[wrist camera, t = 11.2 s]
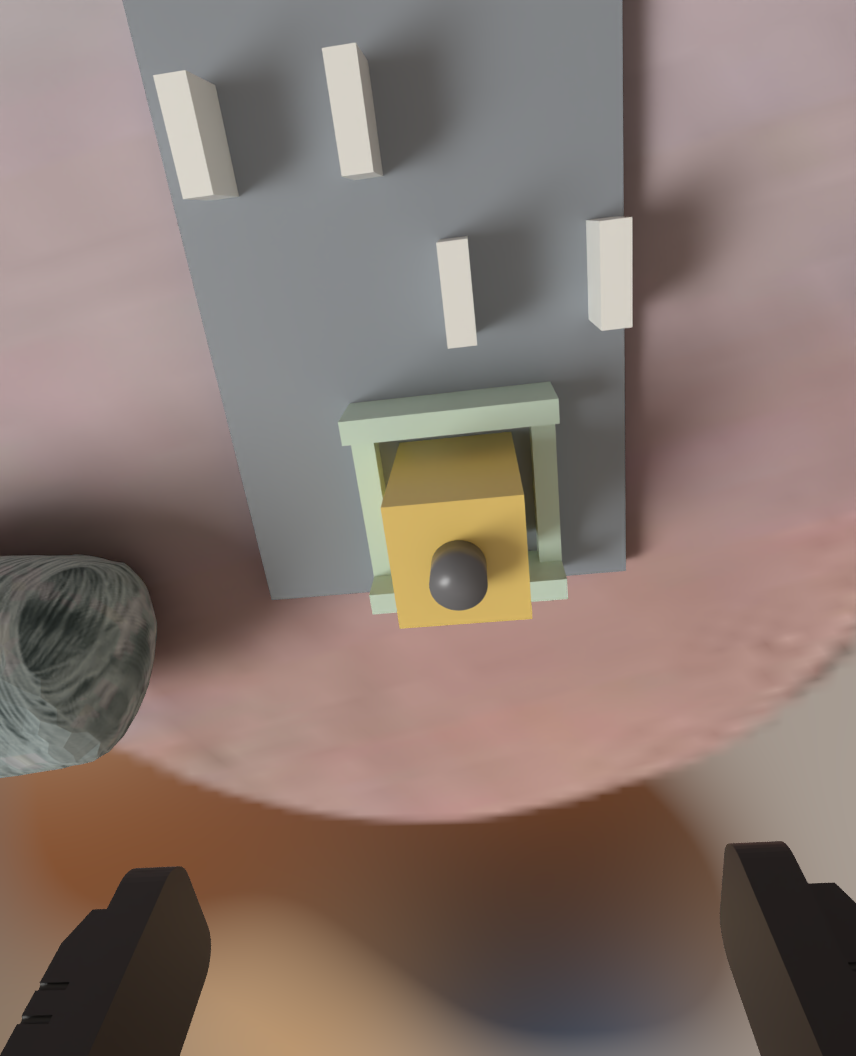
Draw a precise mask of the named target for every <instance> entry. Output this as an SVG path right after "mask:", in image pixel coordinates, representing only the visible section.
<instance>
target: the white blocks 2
mask: <svg viewBox="0 0 856 1056" xmlns="http://www.w3.org/2000/svg"><path fill="white" fill-rule="evenodd" d="M586 240H587V278H588V315H589V320H590V321H591V322H592V323H593V324H594V325H595V326H597V327H598V328H599V329H600V330H601V331H605V330H614V329H622V328H631V327H633V326H632V217H619V216H615V217H607V218H600V219H592V220H586ZM436 247H437V256H438V265H439V274H440V283H441V292H442V301H443V310H444V320H445V329H446V338H447V347H448V349H450V348H459V347H467V346H476V345H477V336H476V324H475V313H474V303H473V292H472V281H471V270H470V259H469V248H468V237H467V236H463V237H456V238H448V239H440V240H438V241H437V242H436Z"/></svg>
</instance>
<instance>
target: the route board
mask: <svg viewBox="0 0 856 1056" xmlns="http://www.w3.org/2000/svg"><path fill="white" fill-rule="evenodd" d="M122 1H123V5H124V9H125V13H126V17H127V21H128V25H129V29H130V33H131V37H132V41H133V45H134V49H135V53H136V57H137V61H138V65H139V69H140V73H141V77H142V81H143V85H144V89H145V93H146V97H147V101H148V105H149V109H150V113H151V117H152V121H153V125H154V129H155V133H156V137H157V141H158V145H159V149H160V153H161V157H162V161H163V165H164V169H165V173H166V177H167V181H168V186H169V190H170V194H171V198H172V202H173V206H174V210H175V214H176V218H177V222H178V226H179V230H180V234H181V238H182V242H183V246H184V250H185V254H186V258H187V262H188V266H189V270H190V274H191V278H192V282H193V286H194V290H195V294H196V298H197V302H198V306H199V310H200V314H201V318H202V322H203V326H204V330H205V334H206V338H207V342H208V346H209V350H210V354H211V358H212V362H213V366H214V370H215V374H216V378H217V382H218V386H219V390H220V394H221V398H222V402H223V406H224V410H225V414H226V418H227V422H228V426H229V430H230V434H231V438H232V442H233V447H234V451H235V455H236V459H237V463H238V467H239V471H240V475H241V479H242V483H243V487H244V491H245V495H246V499H247V503H248V507H249V511H250V515H251V519H252V523H253V527H254V531H255V535H256V539H257V543H258V547H259V551H260V555H261V559H262V563H263V567H264V571H265V575H266V579H267V583H268V587H269V591H270V595H271V599H272V600H279V599H291V598H303V597H315V596H327V595H339V594H351V593H364V592H370V590H371V586H372V582H373V579H374V574H373V568H372V562H371V557H370V551H369V545H368V540H367V534H366V528H365V523H364V517H363V511H362V506H361V500H360V494H359V489H358V483H357V477H356V472H355V466H354V460H353V455H352V449H351V445H349V446H342V443H341V437H340V432H339V426H338V421H339V420H340V418H341V416H342V415H343V413H344V411H345V410H346V408H347V407H348V405H349V403H358V402H367V401H376V400H385V399H395V398H404V397H413V396H422V395H431V394H440V393H449V392H458V391H467V390H476V389H485V388H494V387H504V386H513V385H522V384H531V383H540V382H549V381H550V382H551V384H552V386H553V388H554V390H555V392H556V394H557V396H558V398H559V418H560V424H555V430H556V451H557V471H558V492H559V512H560V533H561V553H562V563H563V567H564V570H565V574H566V576H569V575H581V574H593V573H605V572H617V571H626V520H625V356H624V328H622V329H614V330H605V331H601V330H600V329H599V328H598V327H597V326H595V325H594V324H593V323H592V322H591V321H590V320H589V315H588V278H587V240H586V220H592V219H600V218H607V217H615V216H619V217H624V193H623V29H622V0H122ZM349 43H356V44H357V45H358V47H359V48H360V50H361V51H362V53H363V54H364V56H365V57H366V59H367V61H368V66H369V74H370V81H371V89H372V96H373V104H374V111H375V119H376V126H377V134H378V141H379V149H380V156H381V164H382V171H383V176H381V177H374V178H367V179H360V180H352V179H349V178H345V177H342V175H341V169H340V162H339V156H338V149H337V143H336V137H335V130H334V124H333V117H332V111H331V104H330V98H329V92H328V85H327V79H326V72H325V66H324V60H323V53H322V48H325V47H331V46H337V45H343V44H349ZM182 70H186V71H188V72H190V73H192V74H194V75H196V76H198V77H200V78H202V79H204V80H206V81H208V82H210V83H212V84H214V85H215V86H216V91H217V96H218V100H219V105H220V110H221V114H222V119H223V124H224V129H225V133H226V138H227V143H228V147H229V152H230V157H231V161H232V166H233V171H234V176H235V180H236V185H237V190H238V194H239V197H233V198H226V199H219V200H212V201H211V200H189V199H183V197H182V193H181V189H180V185H179V181H178V176H177V172H176V168H175V164H174V160H173V156H172V152H171V148H170V144H169V139H168V135H167V131H166V127H165V123H164V119H163V115H162V111H161V106H160V102H159V98H158V94H157V90H156V86H155V82H154V78H153V75H158V74H164V73H170V72H176V71H182ZM463 236H467V237H468V248H469V259H470V270H471V281H472V292H473V303H474V313H475V324H476V336H477V345H476V346H467V347H459V348H450V349H448V347H447V338H446V329H445V320H444V310H443V301H442V292H441V283H440V274H439V265H438V256H437V247H436V242H437V241H438V240H440V239H448V238H456V237H463ZM502 432H511V433H512V438H513V443H514V448H515V453H516V458H517V462H518V467H519V472H520V477H521V482H522V487H523V492H524V501H525V516H526V531H527V546H528V551H536V550H537V537H536V522H535V506H534V491H533V476H532V460H531V445H530V429H529V427H522V428H512V429H502V430H493V431H483V432H474V433H464V434H454V435H445V436H435V437H426V438H416V439H406V440H397V441H387V442H378V444H379V450H380V456H381V462H382V469H383V475H384V481H385V488H386V487H387V484H388V480H389V477H390V473H391V470H392V467H393V463H394V460H395V456H396V453H397V449H398V446H399V443H402V442H412V441H422V440H432V439H442V438H452V437H462V436H472V435H482V434H492V433H502Z"/></svg>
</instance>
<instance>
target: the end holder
mask: <svg viewBox="0 0 856 1056" xmlns="http://www.w3.org/2000/svg"><path fill="white" fill-rule="evenodd" d="M555 424H560V418H559V398H558V396H557V394H556V392H555V390H554V388H553V386H552V384H551V382H550V381H549V382H540V383H531V384H522V385H513V386H504V387H494V388H485V389H476V390H467V391H458V392H449V393H440V394H431V395H422V396H413V397H404V398H395V399H385V400H376V401H367V402H358V403H349V405H348V407H347V408H346V410H345V411H344V413H343V415H342V416H341V418H340V420H339V421H338V426H339V432H340V437H341V443H342V446H349V445H351V449H352V455H353V460H354V466H355V472H356V477H357V483H358V489H359V494H360V500H361V506H362V511H363V517H364V523H365V528H366V534H367V540H368V545H369V551H370V557H371V562H372V568H373V574H374V579H373V582H372V586H371V590H370V594H369V597H370V602H371V608H372V613H373V614H384V613H397V608H396V602H395V595H394V589H393V583H392V577H391V570H390V564H389V558H388V552H387V545H386V539H385V533H384V527H383V520H382V514H381V504H382V501H383V497H384V494H385V491H386V488H385V481H384V475H383V469H382V462H381V456H380V450H379V444H378V442H387V441H397V440H406V439H416V438H426V437H435V436H445V435H454V434H464V433H474V432H483V431H493V430H502V429H512V428H522V427H529V429H530V445H531V460H532V476H533V491H534V506H535V522H536V537H537V550H536V551H528V561H529V576H530V591H531V602H535V601H548V600H560V599H568V592H567V578H566V574H565V570H564V567H563V563H562V553H561V533H560V512H559V492H558V471H557V451H556V430H555Z"/></svg>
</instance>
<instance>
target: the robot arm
mask: <svg viewBox="0 0 856 1056" xmlns="http://www.w3.org/2000/svg"><path fill="white" fill-rule="evenodd" d="M720 925H721V933H722V938H723V943H724V948H725V951H726V955H727V959H728V962H729V965H730V968H731V971H732V974H733V977H734V980H735V983H736V986H737V988H738V991H739V994H740V997H741V1000H742V1003H743V1005H744V1009H745V1011H746V1014H747V1017H748V1020H749V1023H750V1026H751V1029H752V1031H753V1034H754V1037H755V1040H756V1043H757V1046H758V1049H759V1051H760V1055H761V1056H856V903H855V902H854V901H853V900H852V899H851V898H850V897H849V896H848V895H847V894H846V893H845V892H844V891H843V890H842V889H841V888H840V887H839V886H837V885H836V884H835V883H815V884H808V883H807V881H806V879H805V877H804V875H803V873H802V871H801V869H800V867H799V865H798V863H797V861H796V859H795V857H794V855H793V853H792V852H791V850H790V848H789V847H788V846H787V845H786V844H785V843H784V842H782V841H775V842H756V843H755V842H753V843H733V844H732V843H731V844H727V845H726V848H725V853H724V866H723V879H722V891H721V904H720ZM210 953H211V939H210V932H209V928H208V926H207V923H206V920H205V918H204V915H203V912H202V910H201V907H200V905H199V902H198V899H197V897H196V894H195V892H194V889H193V887H192V884H191V881H190V879H189V876H188V874H187V872H186V870H185V869H184V868H183V867H178V866H177V867H157V868H136V869H132V870H130V871H129V872H128V873H127V874H126V875H125V876H124V877H123V879H122V881H121V882H120V884H119V886H118V888H117V890H116V892H115V894H114V896H113V898H112V900H111V902H110V904H109V906H108V908H107V909H97V910H92V911H91V912H90V913H89V914H88V915H87V916H86V917H85V919H84V920H83V921H82V922H81V923H80V924H79V925H78V926H77V927H76V928H75V929H74V930H73V932H72V933H71V934H70V935H69V936H68V937H67V938H66V939H65V940H64V941H63V942H62V943H61V945H60V947H59V949H58V951H57V952H56V954H55V956H54V958H53V960H52V962H51V963H50V965H49V967H48V969H47V971H46V972H45V974H44V976H43V978H42V980H41V982H40V988H39V990H38V991H35V993H34V994H33V996H32V998H31V1000H30V1002H29V1003H28V1005H27V1007H26V1009H25V1011H24V1013H23V1015H22V1021H21V1023H20V1024H17V1025H16V1027H15V1029H14V1031H13V1033H12V1034H11V1036H10V1038H9V1040H8V1042H7V1044H6V1046H5V1047H4V1049H3V1051H2V1053H1V1055H0V1056H180V1053H181V1050H182V1047H183V1044H184V1041H185V1038H186V1035H187V1032H188V1029H189V1026H190V1023H191V1021H192V1017H193V1015H194V1011H195V1008H196V1006H197V1003H198V1000H199V997H200V994H201V991H202V988H203V985H204V982H205V979H206V975H207V972H208V968H209V962H210Z"/></svg>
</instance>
